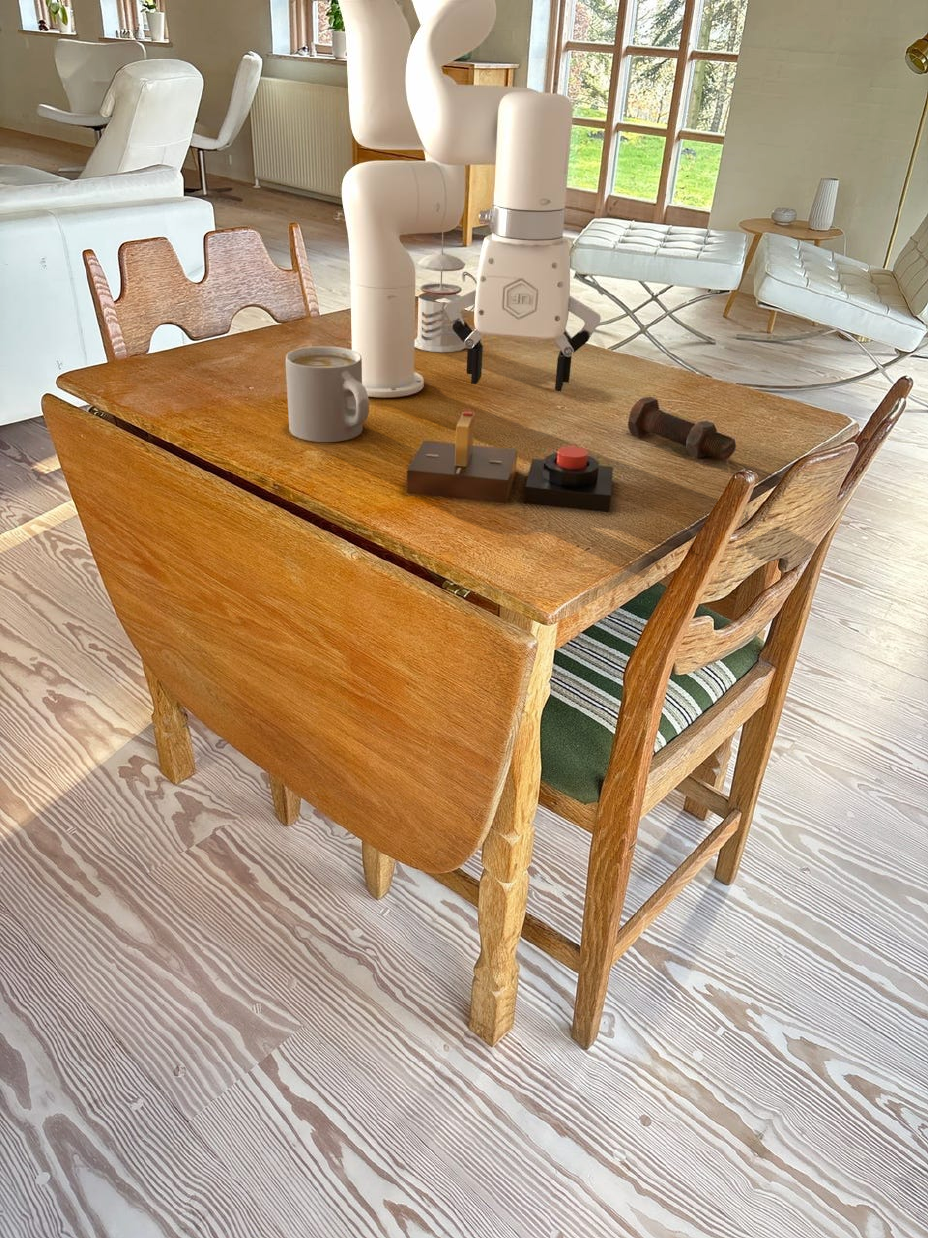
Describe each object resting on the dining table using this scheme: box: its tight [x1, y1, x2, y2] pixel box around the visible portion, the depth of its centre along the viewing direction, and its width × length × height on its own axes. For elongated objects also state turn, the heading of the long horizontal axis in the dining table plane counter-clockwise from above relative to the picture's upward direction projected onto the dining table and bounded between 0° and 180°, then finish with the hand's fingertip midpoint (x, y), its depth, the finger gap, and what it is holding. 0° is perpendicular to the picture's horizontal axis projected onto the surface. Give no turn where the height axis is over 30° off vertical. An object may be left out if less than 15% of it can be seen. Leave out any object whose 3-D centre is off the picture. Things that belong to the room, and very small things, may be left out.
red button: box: [556, 445, 589, 469], centre depth 114 cm, size 4×4×2 cm
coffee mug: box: [285, 345, 370, 443], centre depth 127 cm, size 13×10×10 cm
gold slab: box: [455, 410, 475, 467], centre depth 114 cm, size 5×1×5 cm, turn 171°
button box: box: [523, 452, 614, 513], centre depth 115 cm, size 10×9×4 cm
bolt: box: [627, 396, 737, 462], centre depth 129 cm, size 6×5×15 cm
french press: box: [415, 232, 477, 353], centre depth 163 cm, size 10×12×25 cm
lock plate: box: [406, 440, 518, 504], centre depth 117 cm, size 12×10×3 cm
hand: (517, 384), depth 110 cm, fingers open, 9 cm apart
